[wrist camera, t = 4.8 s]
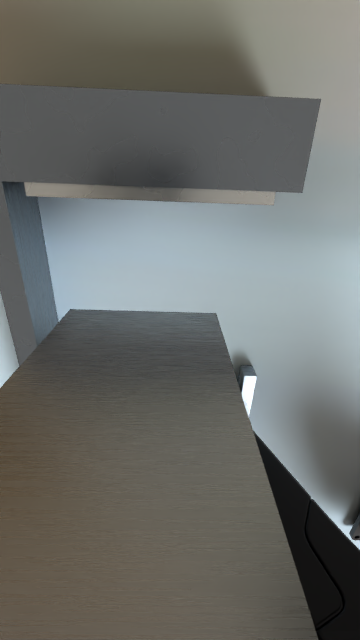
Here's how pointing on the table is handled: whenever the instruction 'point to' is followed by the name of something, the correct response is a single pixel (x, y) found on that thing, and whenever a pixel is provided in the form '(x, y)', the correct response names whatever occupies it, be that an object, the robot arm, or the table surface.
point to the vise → (132, 170)
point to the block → (138, 490)
